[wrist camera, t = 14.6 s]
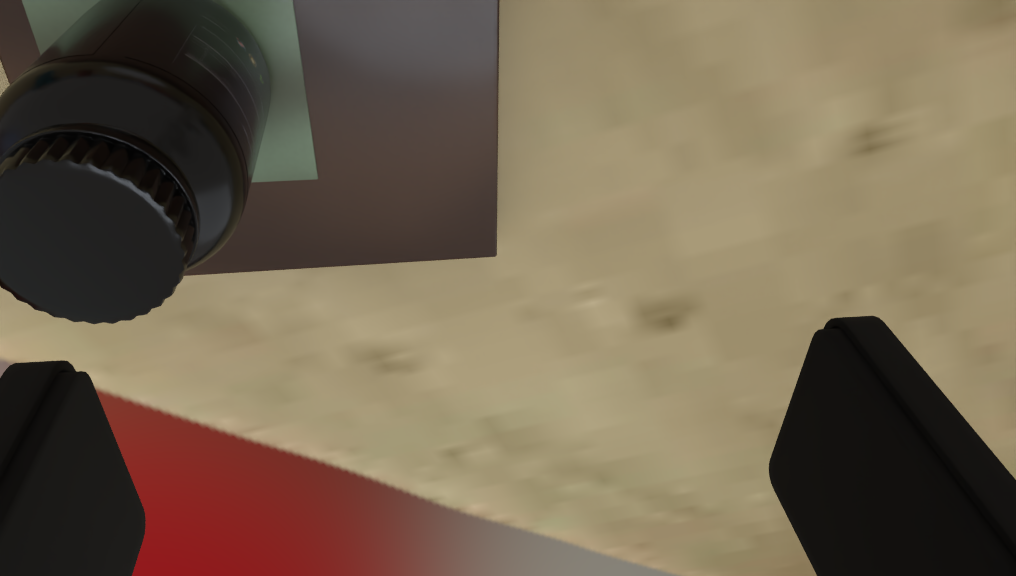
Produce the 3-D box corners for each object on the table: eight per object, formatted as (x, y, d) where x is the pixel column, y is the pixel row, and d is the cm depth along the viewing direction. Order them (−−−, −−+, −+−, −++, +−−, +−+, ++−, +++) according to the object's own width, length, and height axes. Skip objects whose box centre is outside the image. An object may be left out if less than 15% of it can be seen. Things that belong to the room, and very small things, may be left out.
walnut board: (-125, -391, 22) (-181, -406, 20) (493, -364, 24) (504, -377, 22) (100, 251, 34) (82, 285, 32) (490, 229, 37) (497, 259, 34)
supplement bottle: (156, 185, 30) (51, 391, 20) (33, 27, 26) (-170, 188, 16) (310, 119, 29) (276, 299, 20) (208, -55, 25) (103, 64, 16)
